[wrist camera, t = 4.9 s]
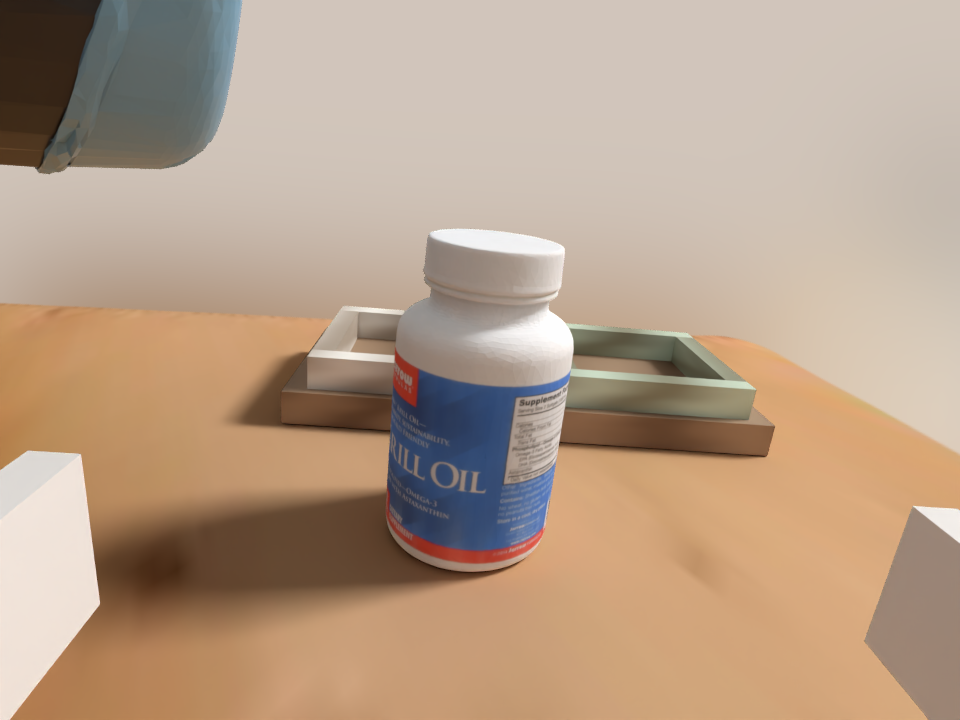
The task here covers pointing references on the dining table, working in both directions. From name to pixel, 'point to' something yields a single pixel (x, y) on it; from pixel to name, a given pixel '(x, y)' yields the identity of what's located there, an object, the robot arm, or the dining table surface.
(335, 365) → the board
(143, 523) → the dining table surface
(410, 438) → the pill bottle
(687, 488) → the dining table surface
